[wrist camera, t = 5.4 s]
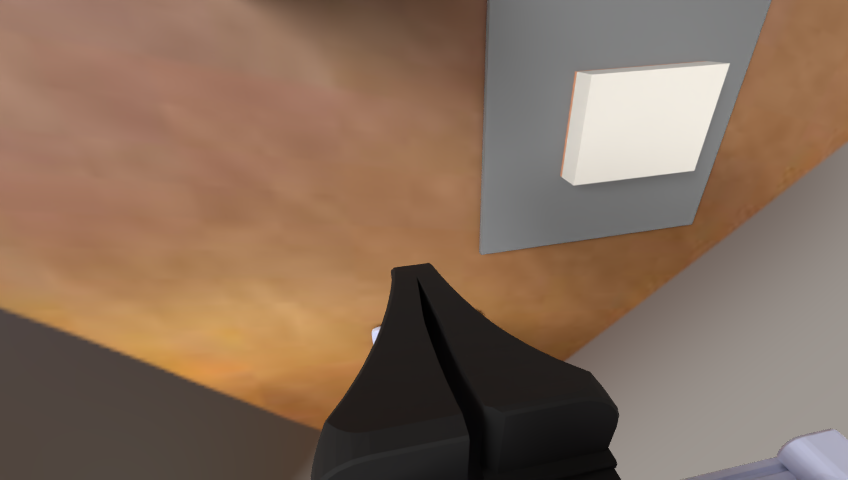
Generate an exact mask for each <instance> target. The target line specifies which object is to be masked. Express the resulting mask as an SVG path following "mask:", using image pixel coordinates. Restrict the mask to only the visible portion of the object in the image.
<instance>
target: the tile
mask: <svg viewBox="0 0 848 480" xmlns="http://www.w3.org/2000/svg"><path fill="white" fill-rule="evenodd" d="M729 65H730V63H721V62H711V61H698V62H685V63H673V64H660V65H648V66H635V67H622V68H610V69H597V70H585V71H575V76H574V83H573V90H572V97H571V104H570V111H569V118H568V125H567V132H566V139H565V146H564V153H563V160H562V167H561V174H560V176H561V177H562V178H563V179H565V180H566V181H568V182H569V183H571V184H572V185H573V186H574V185H582V184H590V183H599V182H607V181H615V180H623V179H631V178H639V177H647V176H655V175H663V174H671V173H680V172H688V171H694V170H695V167H696V164H697V161H698V158H699V155H700V152H701V149H702V146H703V143H704V140H705V137H706V134H707V131H708V128H709V125H710V122H711V119H712V116H713V113H714V110H715V107H716V104H717V101H718V98H719V95H720V92H721V89H722V86H723V83H724V80H725V77H726V74H727V71H728V68H729Z"/></svg>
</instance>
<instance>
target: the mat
mask: <svg viewBox="0 0 848 480" xmlns="http://www.w3.org/2000/svg"><path fill="white" fill-rule="evenodd" d="M770 3H771V0H487V22H486V54H485V86H484V118H483V151H482V183H481V215H480V247H479V252H480V254H481V255H483V254H490V253H497V252H504V251H511V250H518V249H525V248H531V247H538V246H545V245H552V244H559V243H566V242H573V241H580V240H587V239H594V238H600V237H607V236H614V235H621V234H628V233H635V232H642V231H649V230H656V229H663V228H669V227H676V226H683V225H690V224H692V223H693V220H694V217H695V214H696V211H697V209H698V206H699V203H700V200H701V197H702V195H703V192H704V189H705V186H706V183H707V180H708V178H709V175H710V172H711V169H712V166H713V164H714V161H715V158H716V155H717V152H718V150H719V147H720V144H721V141H722V138H723V135H724V133H725V130H726V127H727V124H728V121H729V119H730V116H731V113H732V110H733V107H734V104H735V102H736V99H737V96H738V93H739V90H740V88H741V85H742V82H743V79H744V76H745V74H746V71H747V68H748V65H749V62H750V59H751V57H752V54H753V51H754V48H755V45H756V43H757V40H758V37H759V34H760V31H761V28H762V26H763V23H764V20H765V17H766V14H767V12H768V9H769V6H770ZM698 61H711V62H721V63H730V65H729V68H728V71H727V74H726V77H725V80H724V83H723V86H722V89H721V92H720V95H719V98H718V101H717V104H716V107H715V110H714V113H713V116H712V119H711V122H710V125H709V128H708V131H707V134H706V137H705V140H704V143H703V146H702V149H701V152H700V155H699V158H698V161H697V164H696V167H695V170H694V171H688V172H680V173H671V174H663V175H655V176H647V177H639V178H631V179H623V180H615V181H607V182H599V183H590V184H582V185H574V186H573V185H572V184H571V183H569V182H568V181H566V180H565V179H563V178H562V177H561V176H560V174H561V167H562V160H563V153H564V146H565V139H566V132H567V125H568V118H569V111H570V104H571V97H572V90H573V83H574V76H575V71H585V70H597V69H610V68H622V67H635V66H648V65H660V64H673V63H685V62H698Z"/></svg>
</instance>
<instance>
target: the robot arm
mask: <svg viewBox="0 0 848 480" xmlns="http://www.w3.org/2000/svg"><path fill="white" fill-rule="evenodd" d="M391 276H392V284H391V291H390V296H389V301H388V305H387V309H386V312H385V315H384V319H383V322H382V325H381V326H380V327H376V328H374V329H373V330H372V339H373V347H372V349H371V351H370V353H369V355H368V357H367V359H366V361H365V363H364V365H363V367H362V369H361V370H360V372H359V374H358V375H357V377H356V378H355V380H354V382H353V383H352V385H351V386H350V388H349V390H348V391H347V393H346V394H345V396H344V397H343V399H342V400H341V401H340V402H339V404H338V405H337V406H336V408H335V409H334V410H333V412H332V413H331V414H330V416H329V417H328V418H327V420H326V421H325V423H324V426H323V429H322V432H321V435H320V438H319V441H318V445H317V448H316V452H315V456H314V461H313V466H312V472H311V480H621V479H620V477H619V475H618V474H617V472H616V471H615V469H614V468H616V466H617V462H616V459H615V458H614V456H613V455H612V453H611V451H610V450H609V448H608V447H609V444H610V442H611V439H612V437H613V434H614V432H615V429H616V427H617V423H618V418H619V413H618V408H617V406H616V405H615V404H614V402H613V401H612V399H611V398H610V396H609V395H608V393H607V392H606V391H605V390H604V388H603V387H602V385H601V384H600V383H599V382H598V381H597V380H596V379H595V377H594V376H593V375H592V374H591V373H590V372H589V371H586V370H584V369H581V368H578V367H576V366H573V365H571V364H568V363H566V362H563V361H561V360H558V359H556V358H554V357H552V356H550V355H548V354H545V353H543V352H541V351H539V350H537V349H535V348H533V347H531V346H529V345H528V344H526V343H524V342H522V341H521V340H519V339H517V338H515V337H514V336H512V335H510V334H509V333H507V332H505V331H504V330H502V329H501V328H499V327H498V326H496V325H495V324H494V323H492V322H491V321H489V320H488V319H487V318H486V317H484V316H483V315H482V314H480V313H479V312H478V311H477V310H476V309H475V308H473V307H472V306H471V305H470V304H469V303H468V302H467V301H465V300H464V299H463V298H462V297H461V296H460V295H459V294H458V293H457V292H456V291H455V290H454V289H453V288H452V287H451V286H450V285H449V284H448V283H447V282H446V281H445V280H444V278H443V277H442V276H441V275H440V274H439V273H438V272H437V270H436V269H435V268H434V267H433V266H432V265H431V264H430V263H426V264H418V265H410V266H403V267H395V268H393V269H392V270H391ZM682 480H848V439H846V438H845V437H844V436H843V435H842V434H840V433H839V432H838V431H837V430H835V429H827V430H822V431H818V432H813V433H809V434H805V435H801V436H798V437H795V438H793V439H791V440H789V441H788V442H786V443H785V444H784V445H783V446H782V448H781V449H780V450H779V452H778V454H777V457H774V458H770V459H765V460H761V461H757V462H753V463H749V464H744V465H740V466H736V467H732V468H728V469H724V470H719V471H715V472H711V473H707V474H703V475H698V476H694V477H690V478H686V479H682Z"/></svg>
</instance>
